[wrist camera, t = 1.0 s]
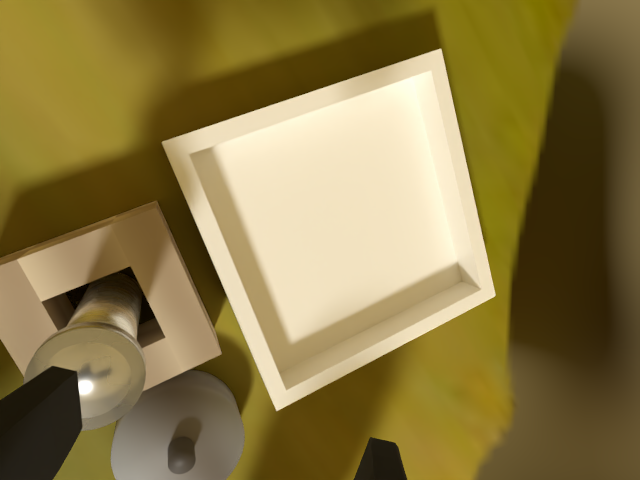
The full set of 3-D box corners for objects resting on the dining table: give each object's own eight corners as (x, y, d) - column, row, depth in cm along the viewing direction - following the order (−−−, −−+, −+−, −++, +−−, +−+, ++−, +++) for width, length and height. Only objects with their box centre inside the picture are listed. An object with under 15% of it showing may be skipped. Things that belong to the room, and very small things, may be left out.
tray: (265, 386, 24) (276, 411, 21) (161, 143, 20) (161, 141, 17) (467, 283, 27) (495, 296, 25) (413, 58, 23) (441, 48, 21)
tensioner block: (137, 502, 22) (133, 552, 20) (-7, 260, 18) (-37, 279, 16) (262, 435, 24) (275, 471, 21) (156, 200, 20) (155, 207, 17)
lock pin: (95, 341, 20) (57, 449, 13) (61, 281, 19) (0, 360, 12) (162, 312, 21) (162, 398, 14) (133, 253, 20) (117, 311, 13)
